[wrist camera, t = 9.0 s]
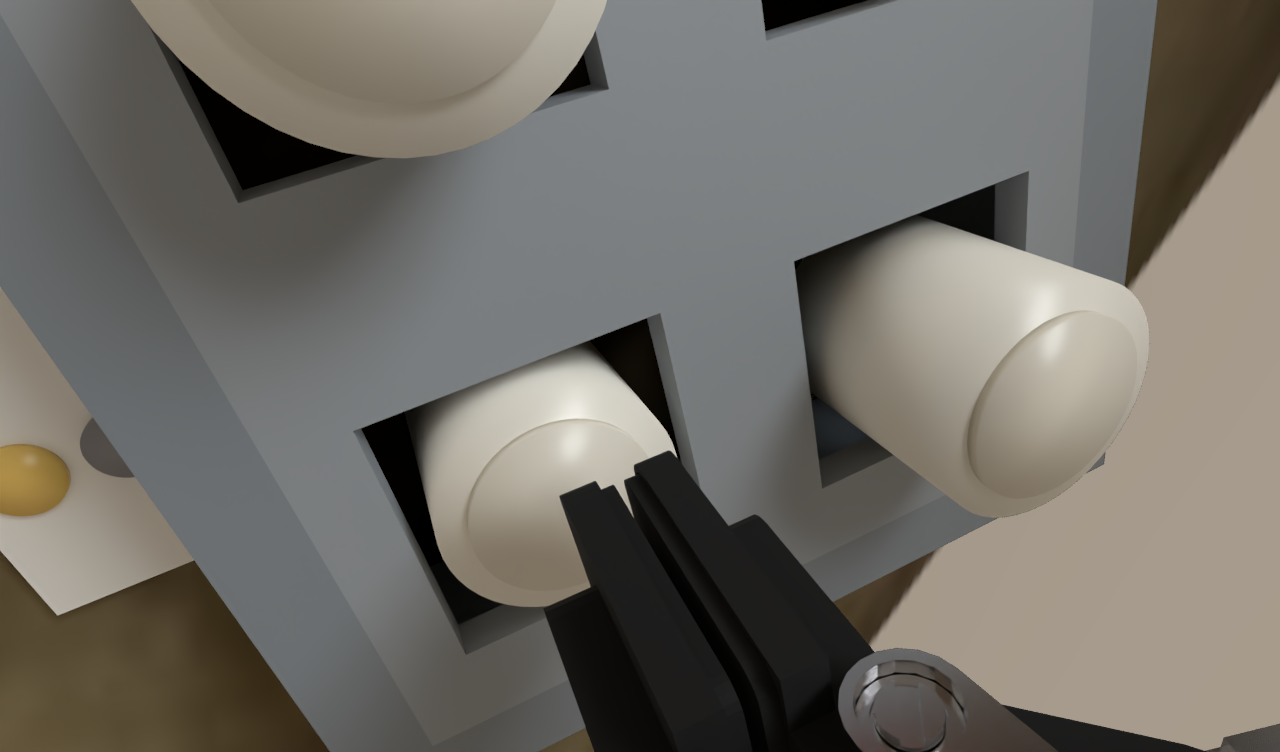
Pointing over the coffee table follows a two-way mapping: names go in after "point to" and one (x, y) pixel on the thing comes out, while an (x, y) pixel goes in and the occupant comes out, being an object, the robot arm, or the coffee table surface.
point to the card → (68, 486)
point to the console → (529, 297)
